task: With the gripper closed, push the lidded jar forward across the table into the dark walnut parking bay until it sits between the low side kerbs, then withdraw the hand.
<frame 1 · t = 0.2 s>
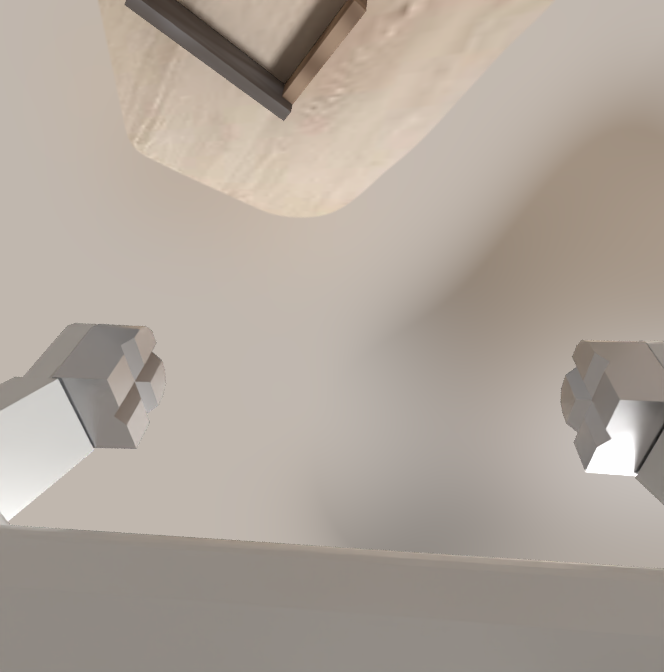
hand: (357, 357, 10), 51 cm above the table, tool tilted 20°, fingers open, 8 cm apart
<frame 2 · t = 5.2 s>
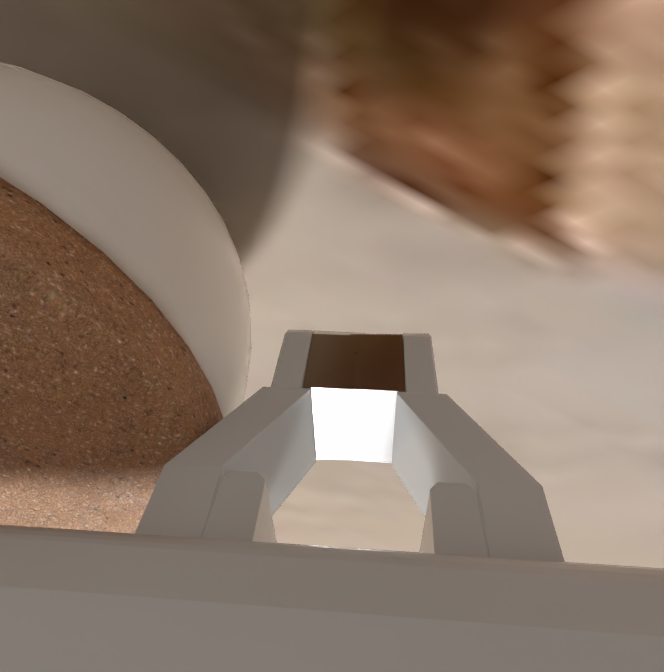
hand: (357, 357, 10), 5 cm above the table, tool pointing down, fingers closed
lidded jar: (105, 231, 14), on the table, touching gripper
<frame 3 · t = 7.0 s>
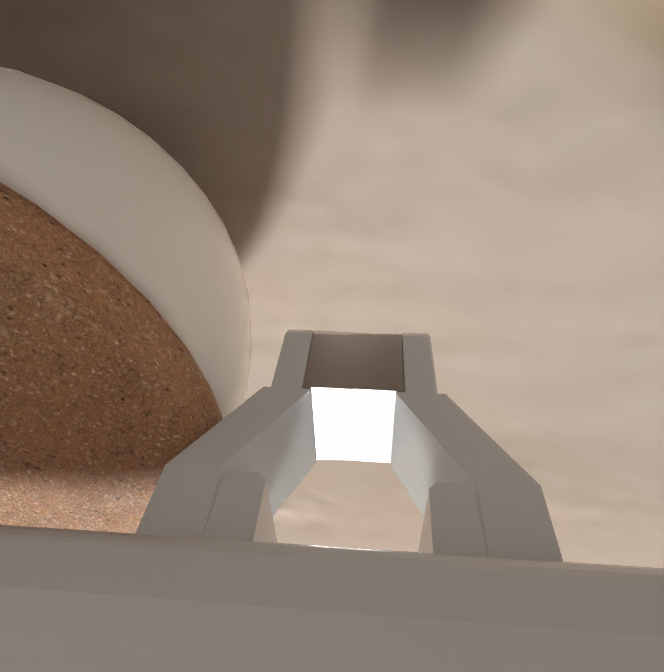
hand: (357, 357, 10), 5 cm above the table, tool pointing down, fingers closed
lidded jar: (106, 233, 14), on the table, touching gripper
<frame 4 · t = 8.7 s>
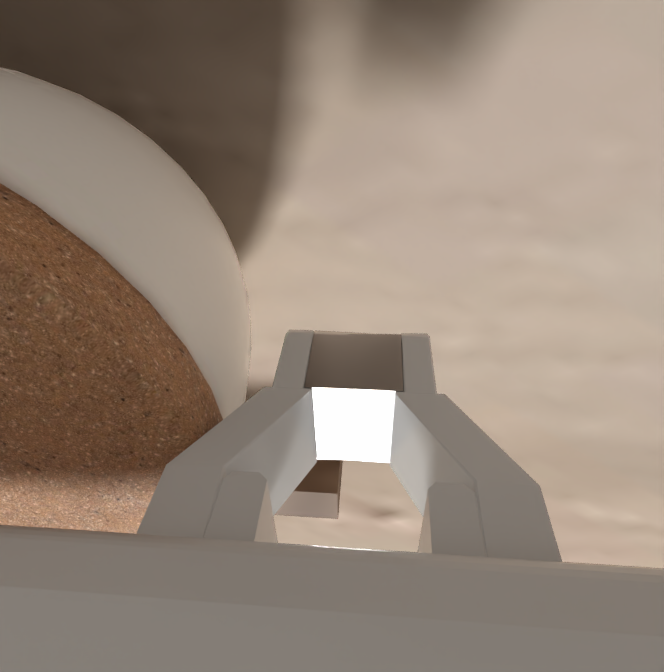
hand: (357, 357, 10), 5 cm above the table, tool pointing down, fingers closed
lidded jar: (105, 234, 14), on the table, touching gripper
parking bay: (108, 234, 14), on the table
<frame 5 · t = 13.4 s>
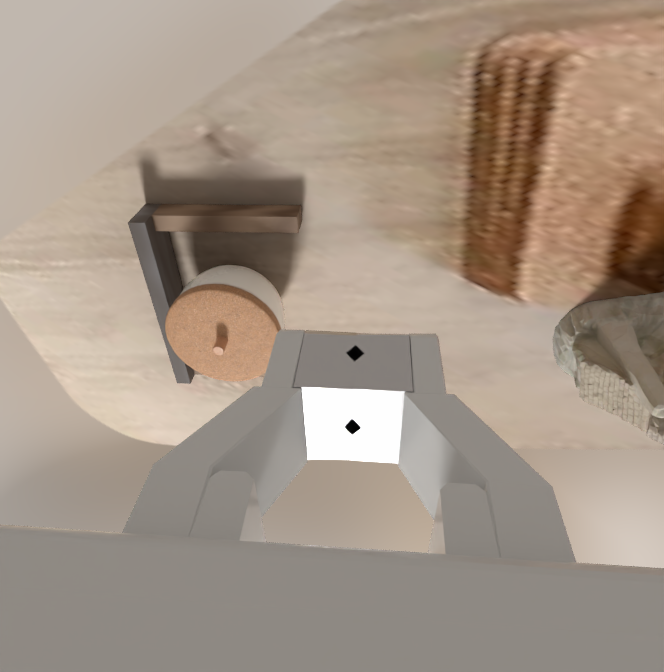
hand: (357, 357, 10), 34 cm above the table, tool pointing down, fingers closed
lidded jar: (242, 291, 51), on the table
ceramic cottage: (628, 352, 51), on the table
parking bay: (244, 292, 50), on the table
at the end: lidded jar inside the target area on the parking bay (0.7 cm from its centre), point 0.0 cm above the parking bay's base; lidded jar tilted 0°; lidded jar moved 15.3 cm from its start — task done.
